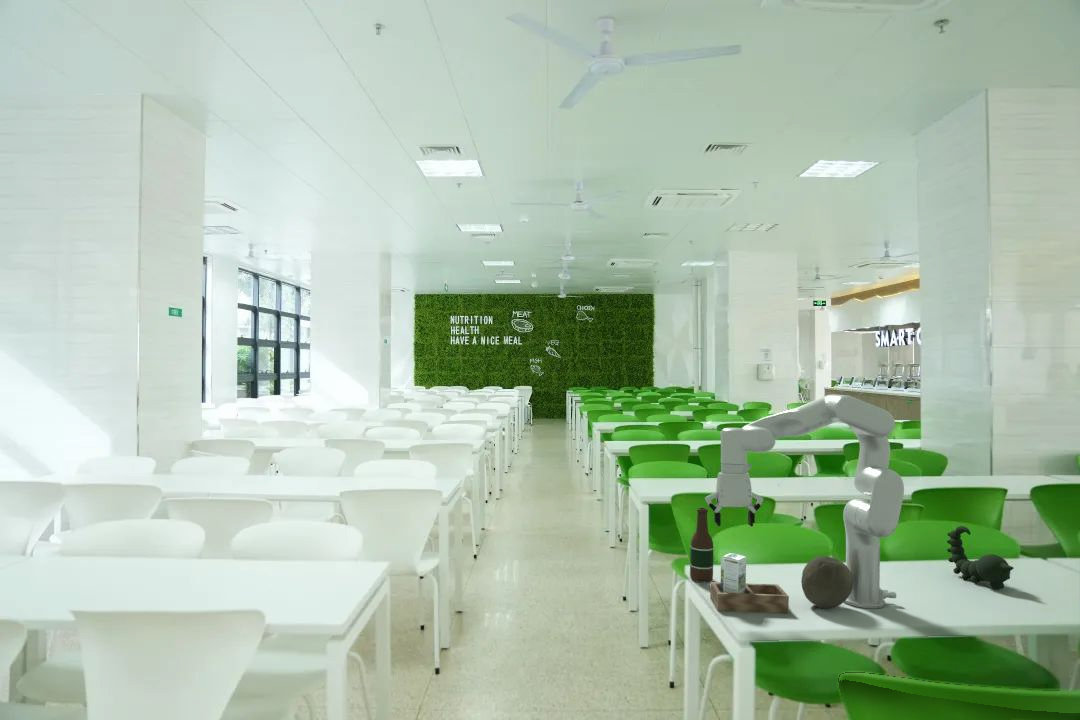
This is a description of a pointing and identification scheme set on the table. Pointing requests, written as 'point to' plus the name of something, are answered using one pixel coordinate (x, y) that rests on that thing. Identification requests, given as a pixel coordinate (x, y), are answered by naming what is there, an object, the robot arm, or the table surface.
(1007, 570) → the toy figurine
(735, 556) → the syrup box
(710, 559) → the beer bottle
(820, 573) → the cantaloupe
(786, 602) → the slot rack
